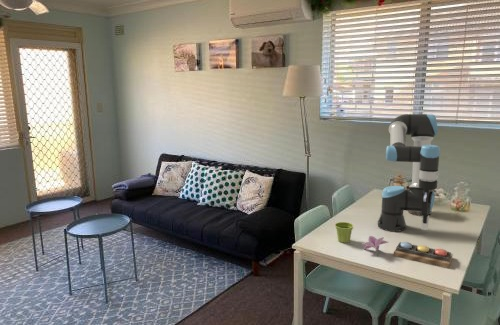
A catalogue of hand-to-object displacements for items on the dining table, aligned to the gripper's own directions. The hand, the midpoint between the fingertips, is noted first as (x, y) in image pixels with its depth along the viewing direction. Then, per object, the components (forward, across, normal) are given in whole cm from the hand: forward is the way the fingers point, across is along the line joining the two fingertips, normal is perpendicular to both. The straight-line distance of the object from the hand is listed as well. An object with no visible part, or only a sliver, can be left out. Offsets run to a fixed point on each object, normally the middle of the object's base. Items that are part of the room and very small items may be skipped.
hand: (424, 229), depth 172 cm
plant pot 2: (+14, +65, +14) cm, 68 cm away
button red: (+11, 0, -7) cm, 13 cm away
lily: (+14, -6, +20) cm, 26 cm away
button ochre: (+11, 0, 0) cm, 11 cm away
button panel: (+14, 0, 0) cm, 14 cm away
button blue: (+11, 0, +8) cm, 13 cm away
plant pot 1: (+14, -1, +38) cm, 41 cm away
